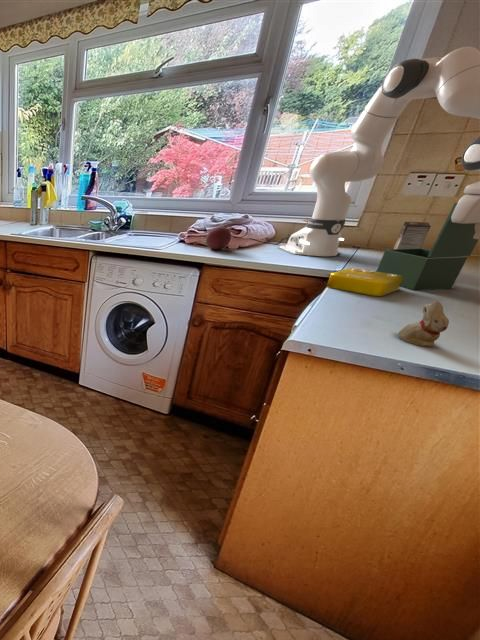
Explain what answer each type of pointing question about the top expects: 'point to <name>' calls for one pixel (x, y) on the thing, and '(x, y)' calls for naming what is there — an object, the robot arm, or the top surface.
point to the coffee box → (412, 235)
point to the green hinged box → (421, 268)
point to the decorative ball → (218, 238)
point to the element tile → (365, 281)
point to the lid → (454, 239)
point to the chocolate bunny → (426, 326)
